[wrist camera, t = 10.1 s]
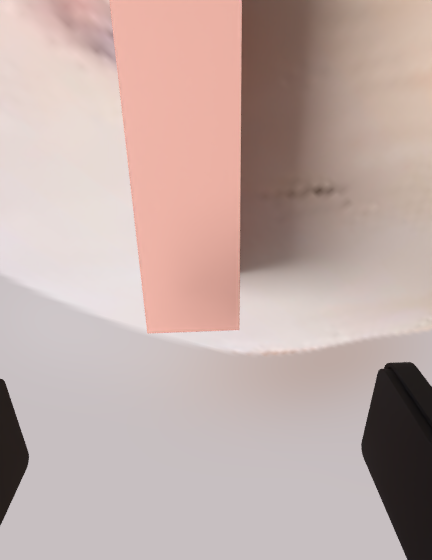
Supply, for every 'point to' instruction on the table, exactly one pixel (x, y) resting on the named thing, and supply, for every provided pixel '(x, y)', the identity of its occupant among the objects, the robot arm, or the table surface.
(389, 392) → the robot arm
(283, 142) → the table surface
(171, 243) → the pink rectangular block
